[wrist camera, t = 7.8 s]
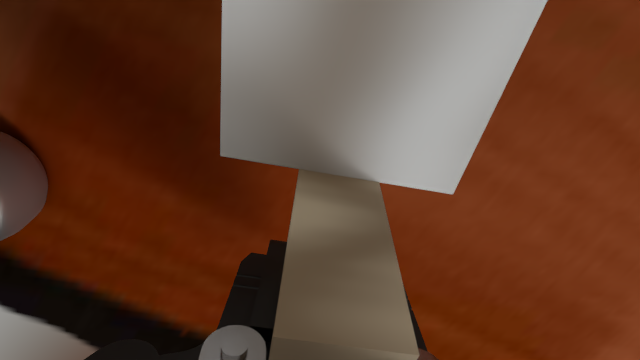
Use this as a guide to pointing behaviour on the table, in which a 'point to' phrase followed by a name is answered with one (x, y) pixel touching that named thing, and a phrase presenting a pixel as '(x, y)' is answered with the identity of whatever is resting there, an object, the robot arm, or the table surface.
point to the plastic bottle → (19, 185)
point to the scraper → (359, 141)
